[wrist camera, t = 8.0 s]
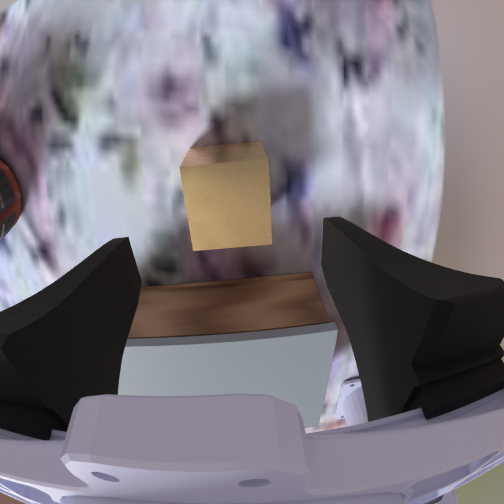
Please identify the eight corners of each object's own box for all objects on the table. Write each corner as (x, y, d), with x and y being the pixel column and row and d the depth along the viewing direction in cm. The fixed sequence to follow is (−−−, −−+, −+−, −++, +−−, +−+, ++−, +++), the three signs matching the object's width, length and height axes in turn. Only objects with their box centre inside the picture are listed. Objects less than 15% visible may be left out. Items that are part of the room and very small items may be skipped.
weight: (260, 141, 17) (268, 159, 14) (264, 211, 20) (272, 244, 16) (189, 147, 17) (179, 167, 14) (199, 217, 20) (193, 251, 16)
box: (311, 271, 22) (329, 321, 18) (304, 374, 28) (314, 419, 24) (117, 288, 22) (97, 337, 18) (158, 385, 28) (152, 428, 24)
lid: (335, 322, 17) (338, 329, 17) (316, 419, 24) (318, 425, 24) (90, 339, 17) (87, 346, 16) (150, 429, 24) (149, 435, 23)
